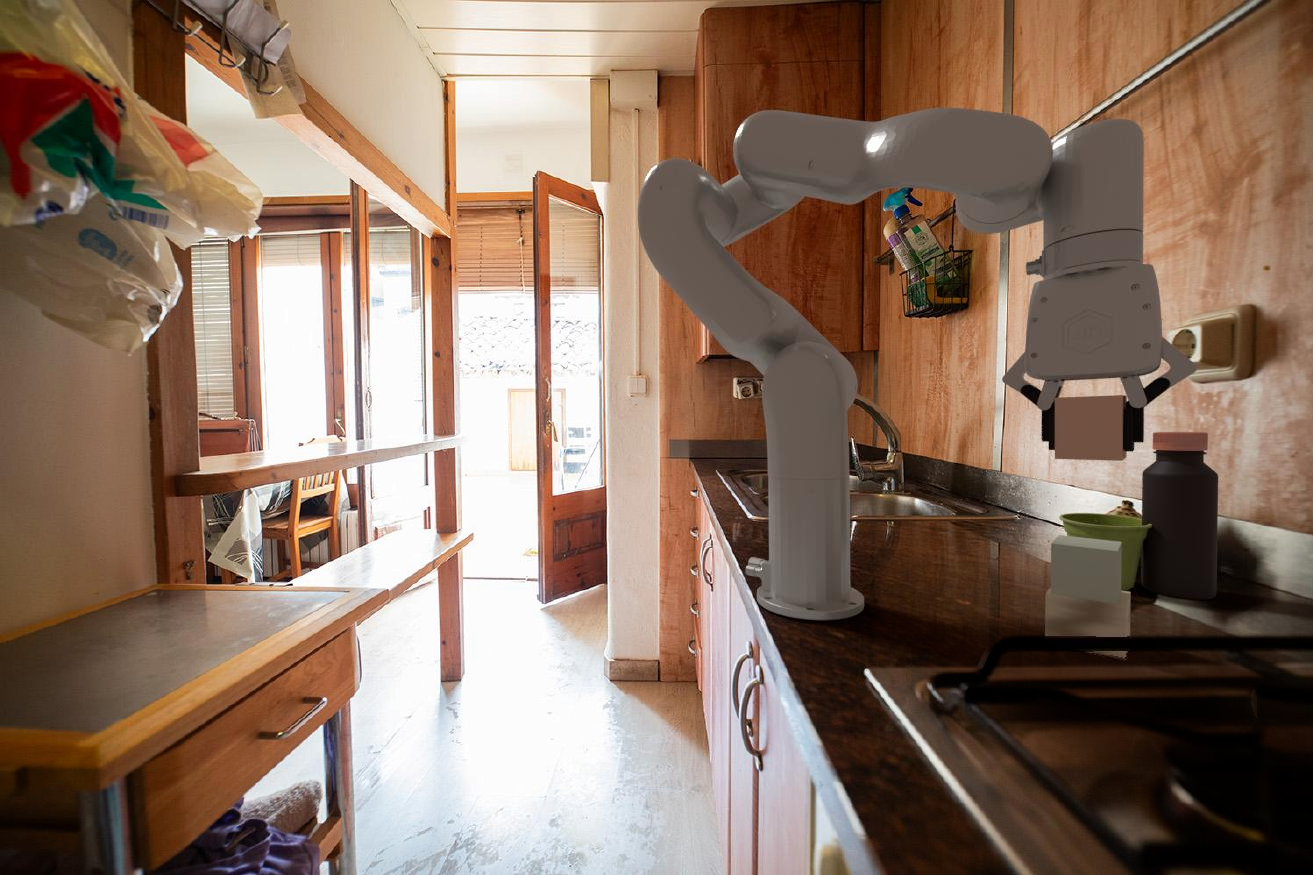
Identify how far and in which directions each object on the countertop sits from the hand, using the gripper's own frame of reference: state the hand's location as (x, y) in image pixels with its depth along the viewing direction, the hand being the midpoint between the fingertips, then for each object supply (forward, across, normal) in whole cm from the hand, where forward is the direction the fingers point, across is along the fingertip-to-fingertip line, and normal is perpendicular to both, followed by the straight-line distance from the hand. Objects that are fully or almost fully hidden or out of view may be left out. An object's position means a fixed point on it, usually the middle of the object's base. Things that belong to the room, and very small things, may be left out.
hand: (1090, 448), depth 53 cm
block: (+1, 0, 0) cm, 1 cm away
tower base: (+19, 0, 0) cm, 19 cm away
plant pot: (+20, -1, +24) cm, 31 cm away
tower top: (+14, 0, 0) cm, 14 cm away
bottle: (+20, +6, +26) cm, 33 cm away
